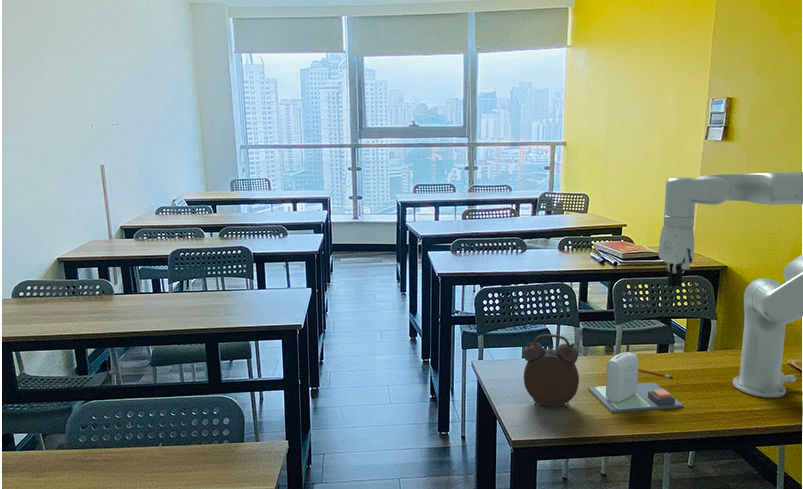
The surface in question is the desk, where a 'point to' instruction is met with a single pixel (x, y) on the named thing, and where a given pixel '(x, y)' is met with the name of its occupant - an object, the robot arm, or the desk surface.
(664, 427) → the desk surface
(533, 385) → the alarm clock
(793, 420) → the desk surface
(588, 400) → the desk surface
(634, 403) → the activity board
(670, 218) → the robot arm
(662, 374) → the pencil
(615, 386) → the photo printer
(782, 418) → the desk surface
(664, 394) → the button
